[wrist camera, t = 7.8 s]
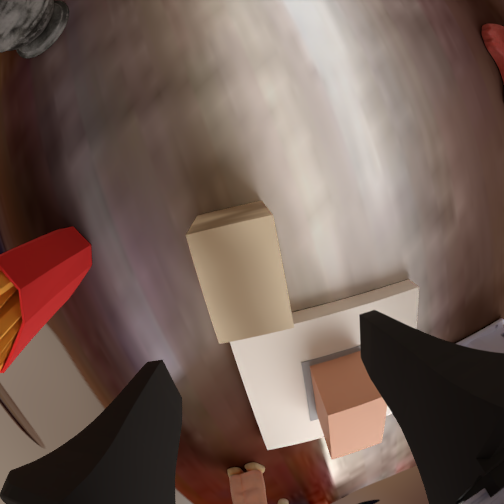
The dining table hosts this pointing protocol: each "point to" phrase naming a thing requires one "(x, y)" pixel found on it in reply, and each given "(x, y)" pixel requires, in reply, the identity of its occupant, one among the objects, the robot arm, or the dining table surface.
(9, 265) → the french fries
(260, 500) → the grandmother figurine
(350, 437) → the terracotta brick
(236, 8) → the dining table surface
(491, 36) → the stacking bear
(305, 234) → the dining table surface
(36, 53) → the grey stone statuette
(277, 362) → the tower plate
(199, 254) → the birch brick
